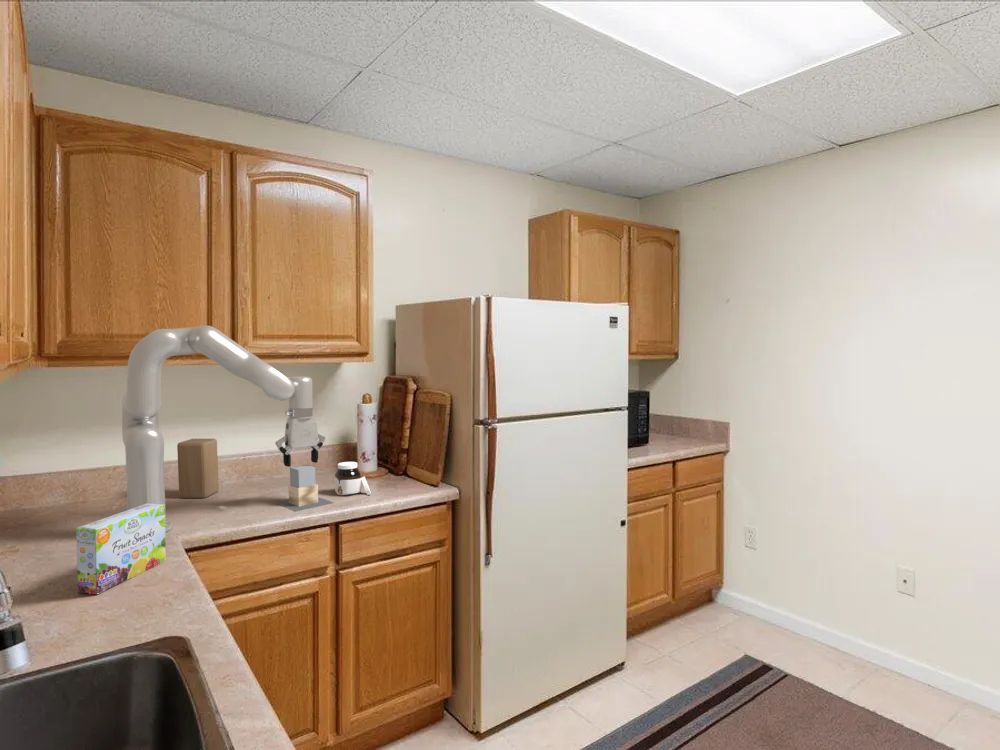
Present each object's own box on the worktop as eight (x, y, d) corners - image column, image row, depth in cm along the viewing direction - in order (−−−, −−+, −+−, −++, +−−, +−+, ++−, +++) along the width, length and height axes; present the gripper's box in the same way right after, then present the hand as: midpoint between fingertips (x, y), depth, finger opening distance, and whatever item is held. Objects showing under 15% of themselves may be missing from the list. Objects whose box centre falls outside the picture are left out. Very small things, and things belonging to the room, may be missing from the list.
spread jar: (332, 494, 218) (331, 463, 217) (360, 489, 225) (359, 458, 224) (347, 501, 208) (346, 468, 208) (376, 495, 216) (375, 463, 215)
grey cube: (299, 488, 199) (298, 470, 199) (290, 485, 203) (289, 467, 203) (315, 484, 203) (315, 467, 203) (306, 482, 208) (306, 464, 207)
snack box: (98, 596, 132) (95, 528, 131) (76, 594, 133) (73, 527, 132) (168, 561, 153) (165, 502, 152) (148, 560, 154) (146, 501, 153)
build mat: (295, 514, 193) (295, 511, 193) (272, 505, 204) (272, 502, 204) (334, 505, 203) (334, 502, 203) (310, 497, 214) (310, 494, 214)
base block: (298, 506, 199) (298, 488, 198) (288, 502, 204) (288, 485, 203) (318, 502, 204) (317, 484, 203) (308, 498, 209) (307, 481, 208)
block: (193, 491, 224) (191, 438, 223) (219, 491, 223) (218, 438, 222) (178, 498, 214) (175, 442, 213) (205, 498, 213) (203, 442, 212)
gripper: (281, 416, 193) (281, 469, 194) (329, 412, 205) (330, 462, 206) (270, 414, 198) (271, 466, 199) (318, 410, 211) (318, 459, 211)
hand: (301, 464), depth 203 cm, fingers open, 9 cm apart
